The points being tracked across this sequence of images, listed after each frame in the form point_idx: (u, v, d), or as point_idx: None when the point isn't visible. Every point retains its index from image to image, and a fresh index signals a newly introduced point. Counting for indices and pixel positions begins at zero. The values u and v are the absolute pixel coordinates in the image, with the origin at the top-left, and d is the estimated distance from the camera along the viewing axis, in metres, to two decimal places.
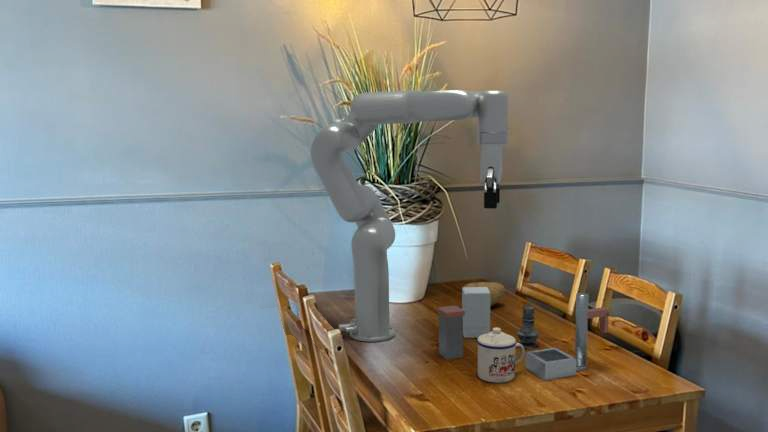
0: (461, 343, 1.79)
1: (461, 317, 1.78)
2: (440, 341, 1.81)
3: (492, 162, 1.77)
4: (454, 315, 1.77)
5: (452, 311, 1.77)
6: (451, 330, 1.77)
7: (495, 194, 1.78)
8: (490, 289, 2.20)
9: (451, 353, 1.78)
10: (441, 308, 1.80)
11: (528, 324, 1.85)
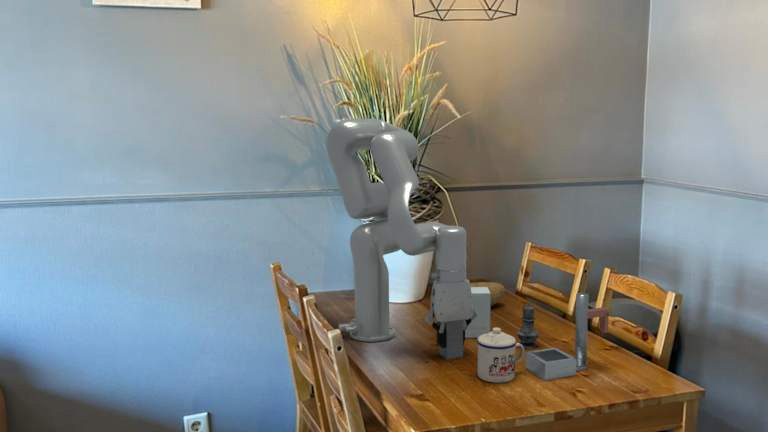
0: (461, 343, 1.79)
1: None
2: None
3: None
4: None
5: None
6: (451, 330, 1.77)
7: None
8: (490, 289, 2.20)
9: (451, 353, 1.78)
10: None
11: (527, 324, 1.85)
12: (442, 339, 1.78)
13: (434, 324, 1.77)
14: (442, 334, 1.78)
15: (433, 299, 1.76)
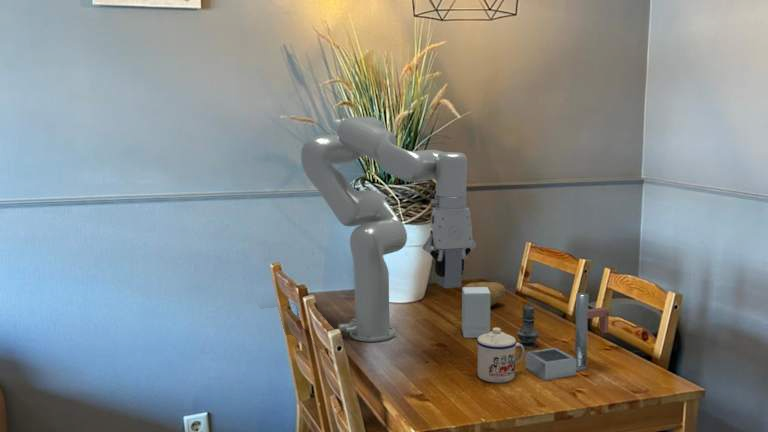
0: (460, 272, 1.76)
1: None
2: None
3: None
4: None
5: None
6: (450, 258, 1.75)
7: None
8: (490, 289, 2.20)
9: (449, 282, 1.76)
10: None
11: (528, 324, 1.85)
12: (440, 267, 1.75)
13: (433, 252, 1.74)
14: (440, 262, 1.75)
15: (432, 226, 1.74)
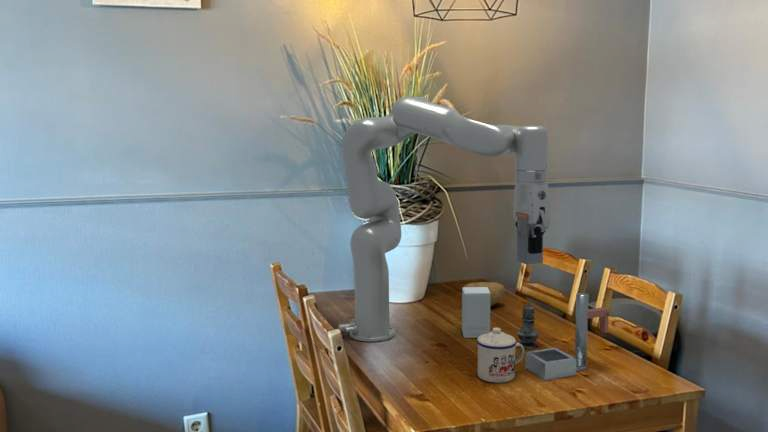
0: None
1: None
2: None
3: None
4: None
5: None
6: None
7: None
8: (490, 289, 2.20)
9: None
10: None
11: (528, 324, 1.85)
12: (540, 243, 1.72)
13: None
14: (540, 238, 1.71)
15: (543, 202, 1.68)
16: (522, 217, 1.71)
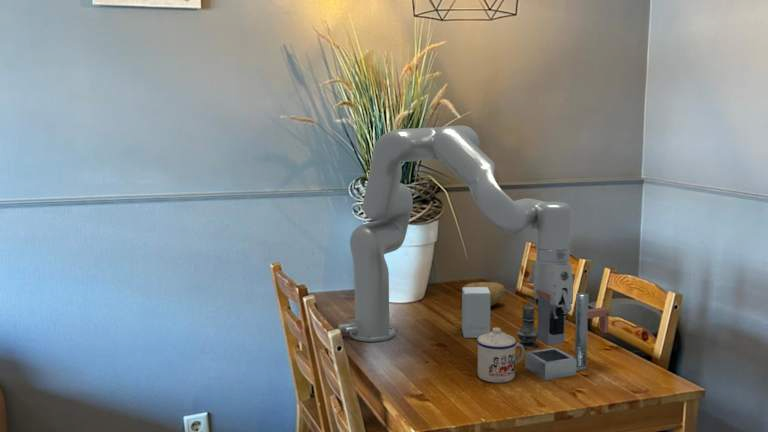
0: None
1: None
2: None
3: None
4: None
5: None
6: None
7: None
8: (490, 289, 2.20)
9: None
10: None
11: (528, 324, 1.85)
12: None
13: None
14: None
15: (565, 283, 1.61)
16: (543, 296, 1.65)
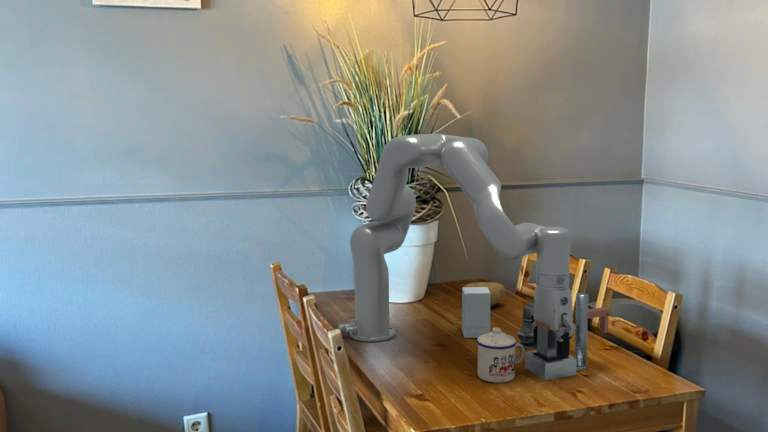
0: None
1: None
2: (551, 360, 1.66)
3: None
4: None
5: None
6: None
7: None
8: (490, 289, 2.20)
9: None
10: None
11: (528, 324, 1.85)
12: (568, 347, 1.64)
13: None
14: None
15: (565, 308, 1.62)
16: (542, 327, 1.66)
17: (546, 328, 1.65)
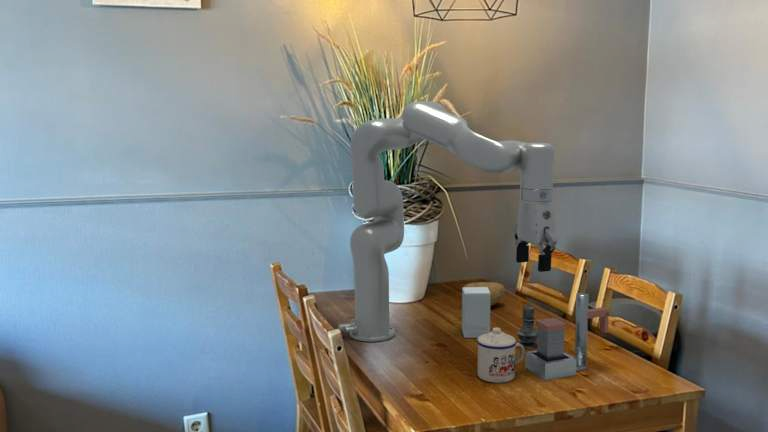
0: None
1: None
2: (551, 360, 1.66)
3: None
4: None
5: (559, 321, 1.68)
6: None
7: None
8: (490, 289, 2.20)
9: None
10: (549, 325, 1.65)
11: (528, 324, 1.85)
12: (549, 261, 1.65)
13: None
14: (550, 256, 1.65)
15: (547, 222, 1.63)
16: (542, 327, 1.66)
17: (546, 328, 1.65)
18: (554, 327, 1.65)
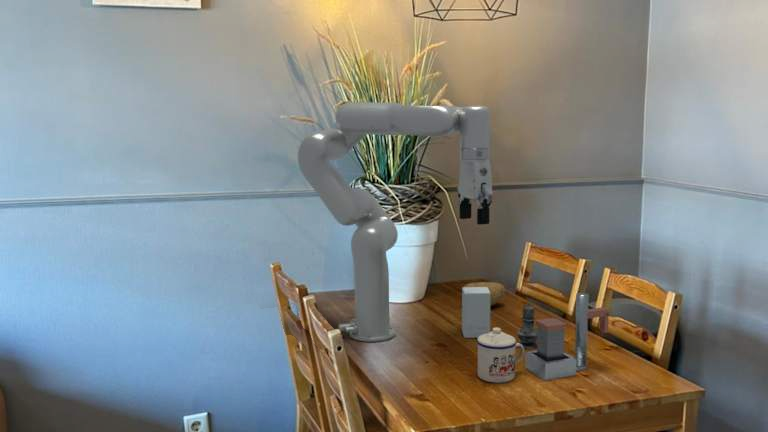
0: None
1: None
2: (551, 360, 1.66)
3: None
4: None
5: (559, 321, 1.68)
6: None
7: None
8: (490, 289, 2.20)
9: None
10: (549, 325, 1.65)
11: (528, 324, 1.85)
12: (487, 214, 1.79)
13: None
14: (488, 209, 1.79)
15: (484, 178, 1.77)
16: (542, 327, 1.66)
17: (546, 328, 1.65)
18: (554, 327, 1.65)
